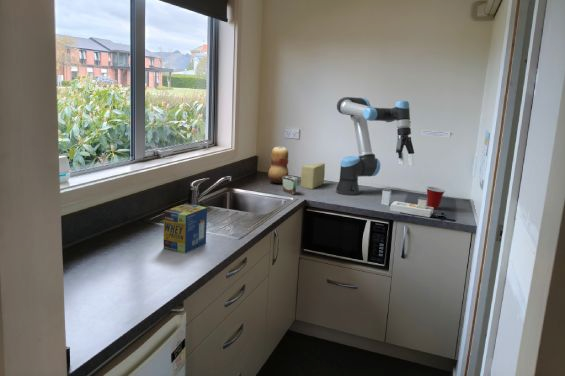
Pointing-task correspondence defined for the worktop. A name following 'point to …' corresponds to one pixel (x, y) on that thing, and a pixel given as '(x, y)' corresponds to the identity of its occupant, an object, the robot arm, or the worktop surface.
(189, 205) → the protein box
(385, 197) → the grey plug
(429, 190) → the plastic cup
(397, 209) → the power strip
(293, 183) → the food container
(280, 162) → the butternut squash
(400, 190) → the worktop surface
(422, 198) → the beige plug
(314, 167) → the cheese
